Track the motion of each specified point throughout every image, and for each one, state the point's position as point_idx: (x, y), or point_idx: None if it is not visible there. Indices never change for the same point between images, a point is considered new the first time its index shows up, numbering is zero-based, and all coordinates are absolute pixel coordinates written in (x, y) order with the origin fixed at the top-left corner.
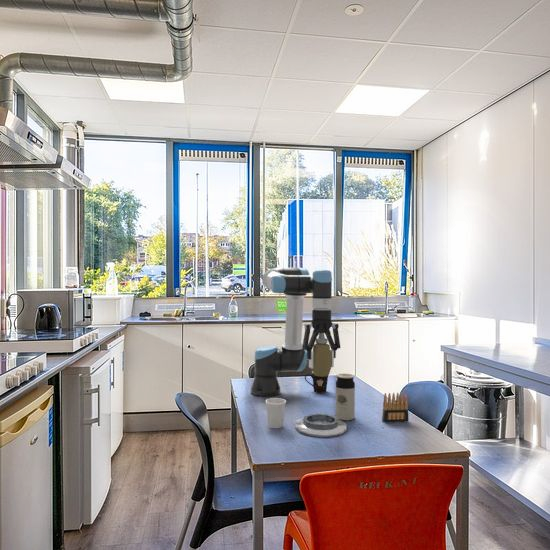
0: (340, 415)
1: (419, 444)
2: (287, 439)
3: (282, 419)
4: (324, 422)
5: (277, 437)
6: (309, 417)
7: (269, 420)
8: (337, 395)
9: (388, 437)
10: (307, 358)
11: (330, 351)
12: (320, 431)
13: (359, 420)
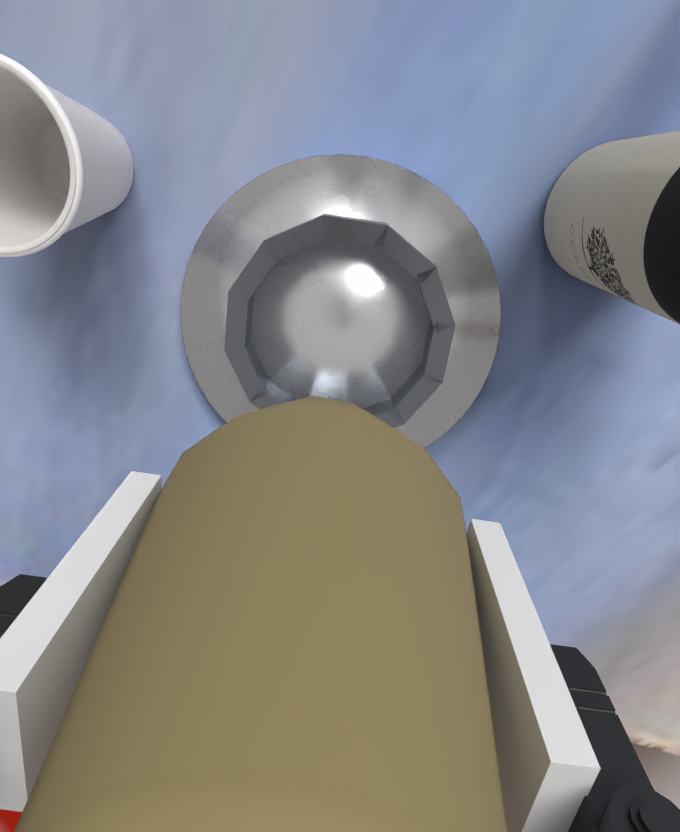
0: (556, 249)
1: (618, 665)
2: (90, 399)
3: (100, 214)
4: (379, 310)
5: (46, 353)
6: (299, 249)
7: (12, 178)
8: (609, 230)
9: (570, 566)
10: (10, 595)
11: (519, 783)
12: None
13: None
